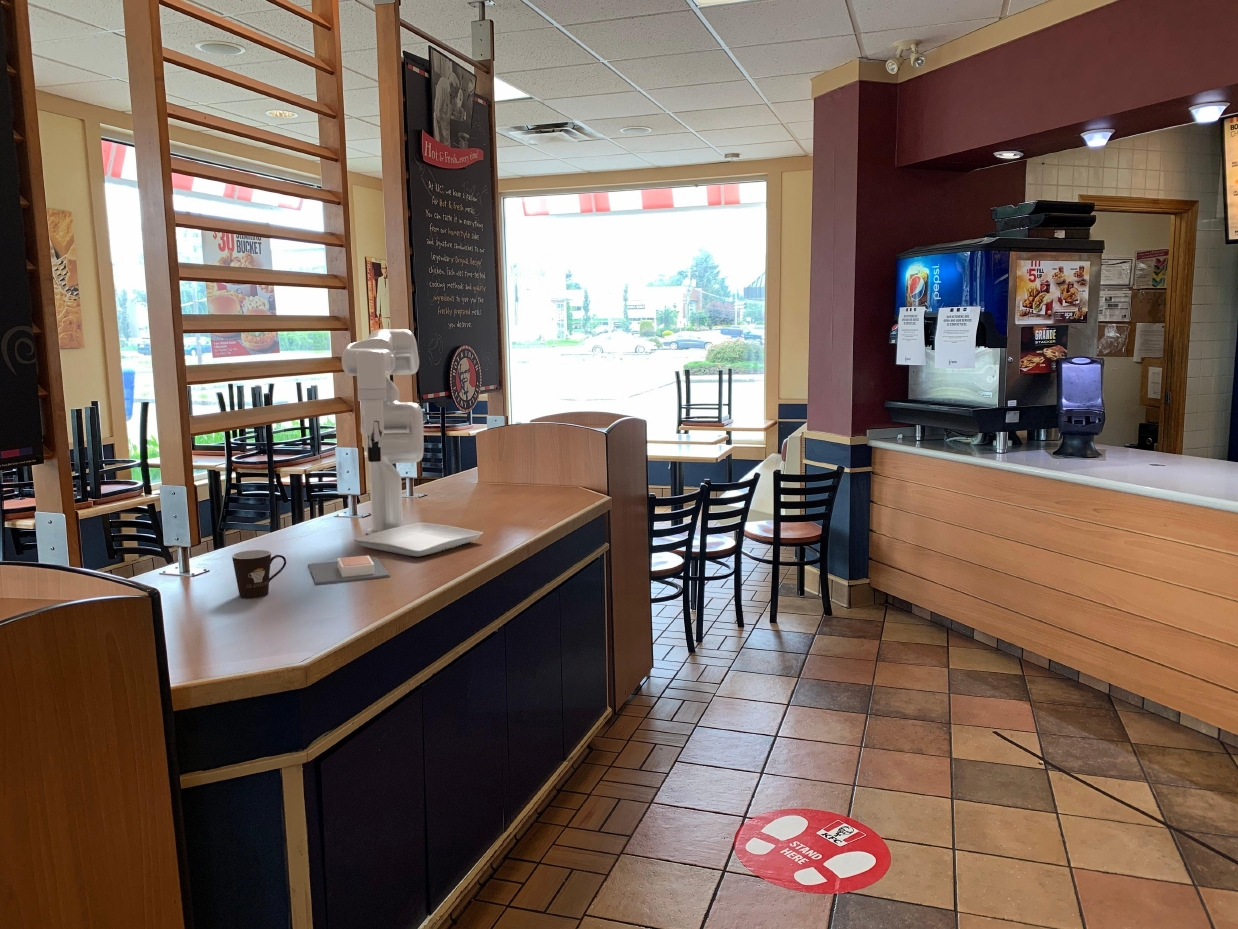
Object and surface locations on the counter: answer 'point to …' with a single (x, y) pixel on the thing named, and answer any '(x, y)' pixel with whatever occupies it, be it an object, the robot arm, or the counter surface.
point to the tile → (355, 566)
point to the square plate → (418, 539)
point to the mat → (331, 573)
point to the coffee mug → (254, 572)
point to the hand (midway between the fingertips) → (374, 461)
